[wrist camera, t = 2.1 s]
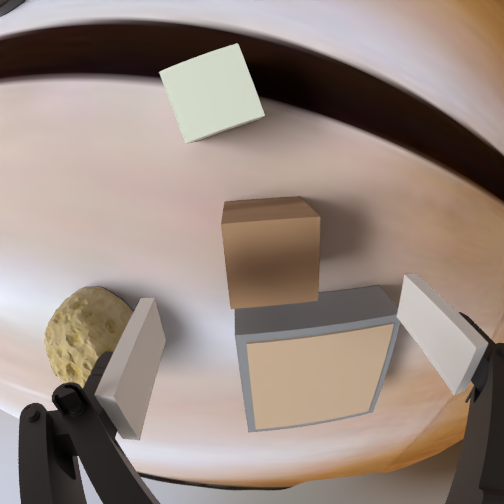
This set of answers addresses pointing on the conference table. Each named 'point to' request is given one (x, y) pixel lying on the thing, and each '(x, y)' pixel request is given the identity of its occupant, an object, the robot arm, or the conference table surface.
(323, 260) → the conference table surface
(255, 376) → the plinth
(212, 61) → the sage cube
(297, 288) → the walnut cube
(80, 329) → the decorative item
